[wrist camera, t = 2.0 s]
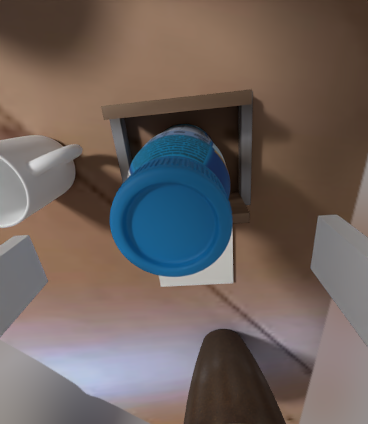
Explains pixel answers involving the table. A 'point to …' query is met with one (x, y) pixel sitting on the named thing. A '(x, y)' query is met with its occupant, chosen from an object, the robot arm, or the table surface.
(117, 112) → the rack
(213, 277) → the coaster
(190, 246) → the beverage bottle
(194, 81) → the table surface
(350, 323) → the robot arm
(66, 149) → the mug
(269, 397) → the plant pot
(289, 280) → the table surface
